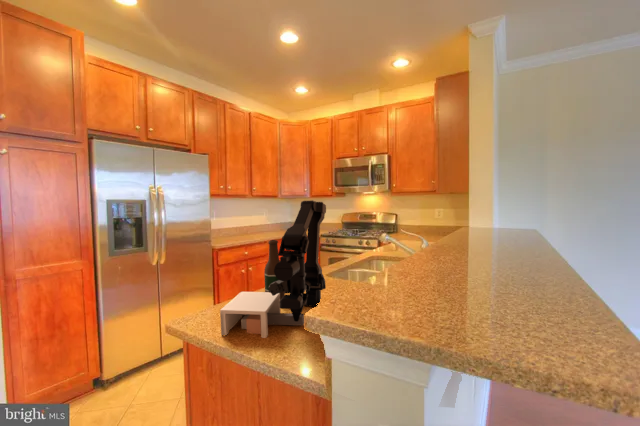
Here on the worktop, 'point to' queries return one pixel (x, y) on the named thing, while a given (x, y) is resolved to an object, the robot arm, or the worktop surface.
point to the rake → (277, 319)
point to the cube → (254, 324)
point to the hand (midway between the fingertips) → (297, 319)
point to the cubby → (249, 309)
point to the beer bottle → (272, 266)
